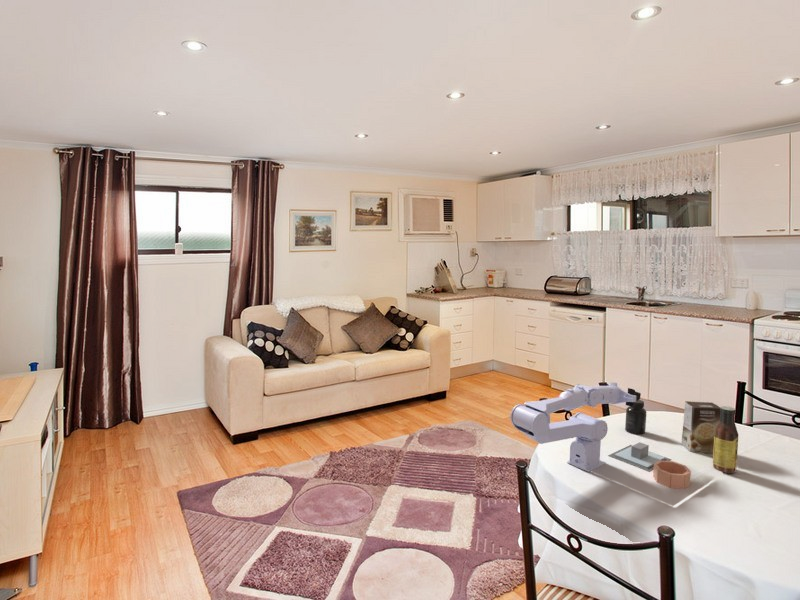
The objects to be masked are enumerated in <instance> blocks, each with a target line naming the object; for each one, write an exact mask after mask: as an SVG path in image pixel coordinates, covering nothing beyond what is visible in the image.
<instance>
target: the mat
mask: <svg viewBox="0 0 800 600" xmlns="http://www.w3.org/2000/svg"><path fill="white" fill-rule="evenodd" d="M631 446H633V445H632V444H629V445H627V446H625V447H623V448H621V449H618V450H617V451H614V452H613V453H609V454H608V455H607V457H609V458H613V459H615V460H617V461H619V462H622V463H625V464H628V465H630V466H633V467H635V468H638V469H641V470H643V471H646V472H649V473H650V472H653V469H654V465H653V466H651V467H649V468H648V469H647V468H644V467H642V466H639V465H636V464H634V463H631V462H628V461H626V460H623V459H621V458H618V457H615V456H614V455H615V454H616V453H618V452H621V451H623V450H625V449H627V448H629V447H631ZM648 452H651V451H649V450H648ZM651 453H654V454H657V455H659V454H658V453H655V452H651ZM661 456H662V457H665V459H664V460H662V461H673V459H672V458H668V457H666V456H663V455H661Z"/></svg>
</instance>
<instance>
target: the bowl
mask: <svg viewBox="0 0 800 600" xmlns="http://www.w3.org/2000/svg"><path fill="white" fill-rule="evenodd" d="M691 472H692V471H691V470H690V468H688V466H687V465H684V464H682V463H679V462H676V461H673V460H670V461H662V460H660V461H658V462H656V463H654V469H653V470H652V477H653V478H654V480H655V481H656V483H658V484H660V485H663V486H665V487H667V488H671V489H672V488H673V489H685V488H687V487H689V486H690V485H691V476H692V475H691V474H692V473H691Z"/></svg>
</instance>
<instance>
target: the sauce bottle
mask: <svg viewBox="0 0 800 600" xmlns="http://www.w3.org/2000/svg"><path fill="white" fill-rule="evenodd" d="M719 407H720V413H721V414H720V422H719V423H718V424H717V426H716V428H715V436H714V450H713V454H712V467H713V469H714V470H716V471H718V472H722V473H723V474H734V473H736V469H737V464H738V448H739V433H738V429H737V426H736V422H735V418H736V417H735V415H736V412H737V411H736V408H734V407H731V406H727V405H726V406H723V405H722V406H719Z"/></svg>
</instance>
